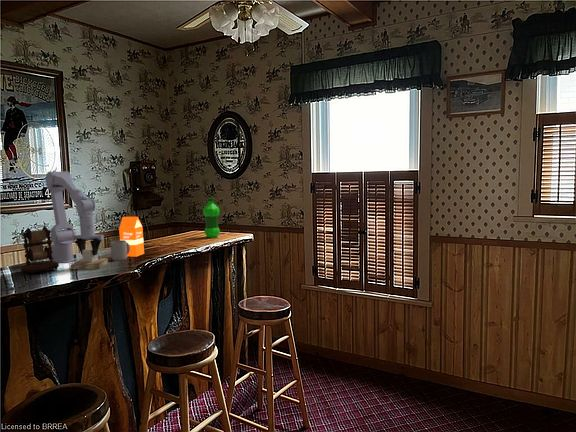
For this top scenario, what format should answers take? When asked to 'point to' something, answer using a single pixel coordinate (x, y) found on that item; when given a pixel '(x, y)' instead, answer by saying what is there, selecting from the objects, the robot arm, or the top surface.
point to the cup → (119, 250)
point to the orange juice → (132, 235)
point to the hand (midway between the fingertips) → (89, 254)
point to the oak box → (90, 264)
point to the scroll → (38, 251)
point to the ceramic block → (89, 255)
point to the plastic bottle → (211, 219)
